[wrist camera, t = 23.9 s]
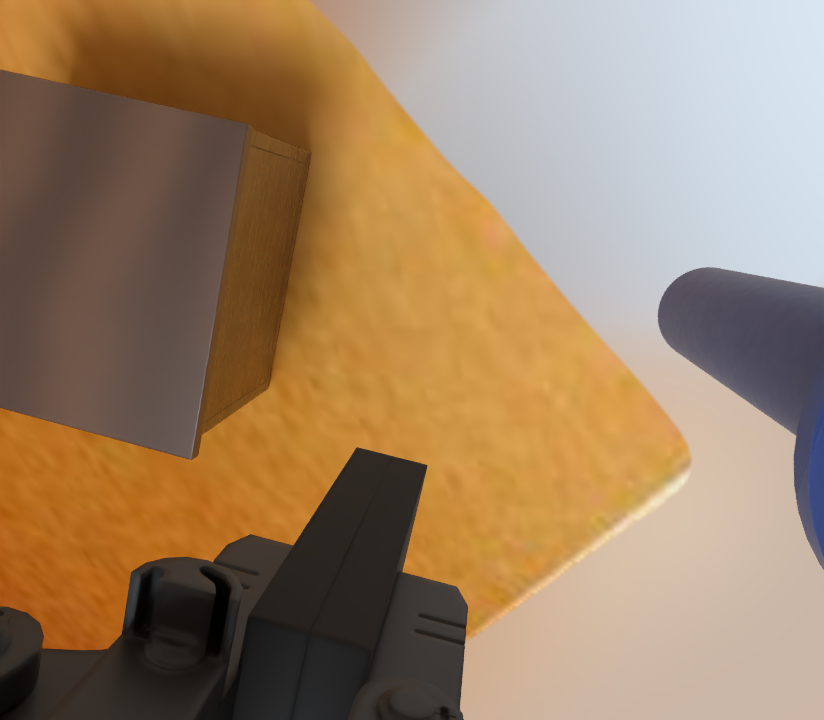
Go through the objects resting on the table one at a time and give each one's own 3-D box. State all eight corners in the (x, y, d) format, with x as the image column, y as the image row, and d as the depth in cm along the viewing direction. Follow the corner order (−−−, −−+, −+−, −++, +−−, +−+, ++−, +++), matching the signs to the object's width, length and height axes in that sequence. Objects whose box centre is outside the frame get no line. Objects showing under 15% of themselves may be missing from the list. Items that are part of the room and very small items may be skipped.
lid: (254, 126, 34) (247, 123, 33) (198, 455, 37) (191, 460, 36) (-102, 48, 35) (-116, 44, 35) (-123, 368, 39) (-137, 371, 38)
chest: (311, 152, 48) (237, 123, 34) (268, 389, 51) (185, 447, 38) (64, 97, 49) (-101, 48, 35) (37, 332, 52) (-123, 368, 39)
